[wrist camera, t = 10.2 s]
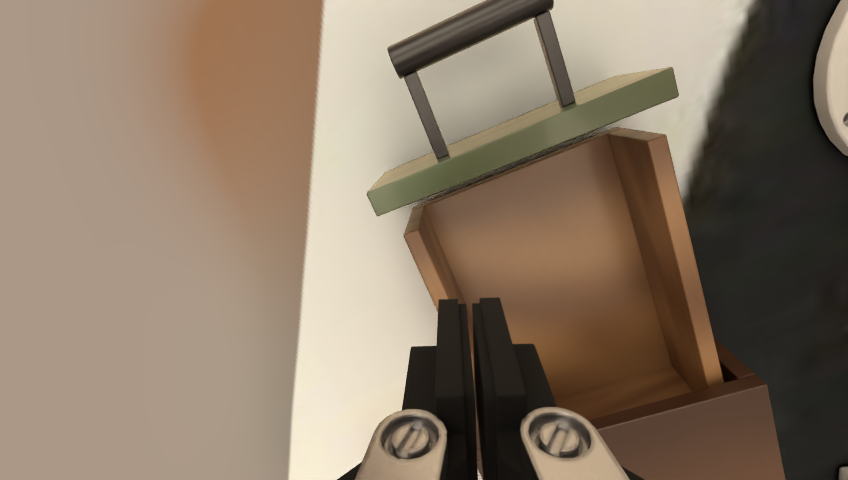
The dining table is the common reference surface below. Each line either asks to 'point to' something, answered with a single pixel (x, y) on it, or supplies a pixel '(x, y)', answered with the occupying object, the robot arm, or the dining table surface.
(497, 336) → the robot arm
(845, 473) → the cosmetic box
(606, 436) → the cabinet
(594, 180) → the drawer
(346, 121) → the dining table surface
